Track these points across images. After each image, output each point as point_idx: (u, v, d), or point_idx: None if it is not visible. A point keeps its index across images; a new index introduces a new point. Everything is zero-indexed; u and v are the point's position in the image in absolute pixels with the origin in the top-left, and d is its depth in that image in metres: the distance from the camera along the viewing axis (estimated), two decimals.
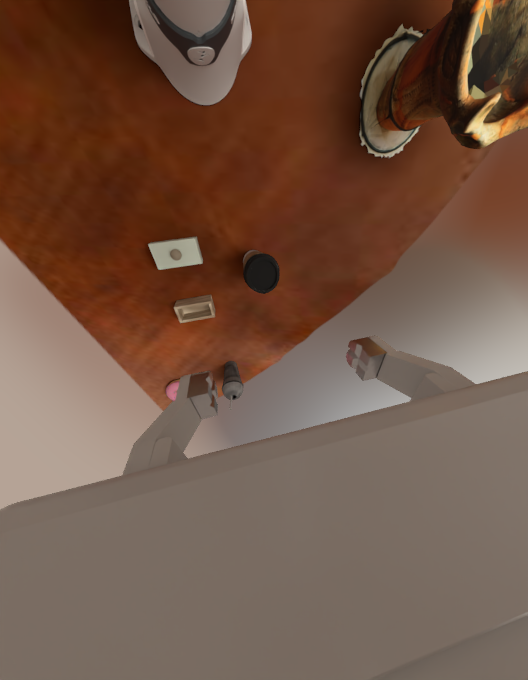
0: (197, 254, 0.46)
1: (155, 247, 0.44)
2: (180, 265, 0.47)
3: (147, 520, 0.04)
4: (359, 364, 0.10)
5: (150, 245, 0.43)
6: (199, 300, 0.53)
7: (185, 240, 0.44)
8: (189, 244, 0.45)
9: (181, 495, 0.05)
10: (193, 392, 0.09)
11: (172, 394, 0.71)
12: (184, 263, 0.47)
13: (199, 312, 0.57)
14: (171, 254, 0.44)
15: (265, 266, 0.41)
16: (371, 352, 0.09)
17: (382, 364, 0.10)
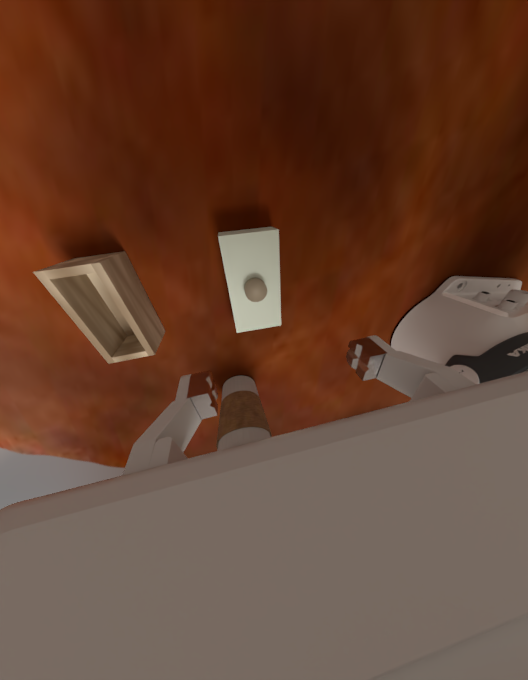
0: (254, 326, 0.23)
1: (270, 246, 0.19)
2: (231, 292, 0.20)
3: (147, 520, 0.04)
4: (359, 364, 0.10)
5: (275, 235, 0.18)
6: (147, 321, 0.21)
7: (278, 309, 0.23)
8: (272, 315, 0.23)
9: (181, 495, 0.05)
10: (193, 392, 0.08)
11: None
12: (236, 301, 0.21)
13: (105, 312, 0.21)
14: (258, 283, 0.19)
15: None
16: (371, 352, 0.09)
17: (382, 364, 0.10)
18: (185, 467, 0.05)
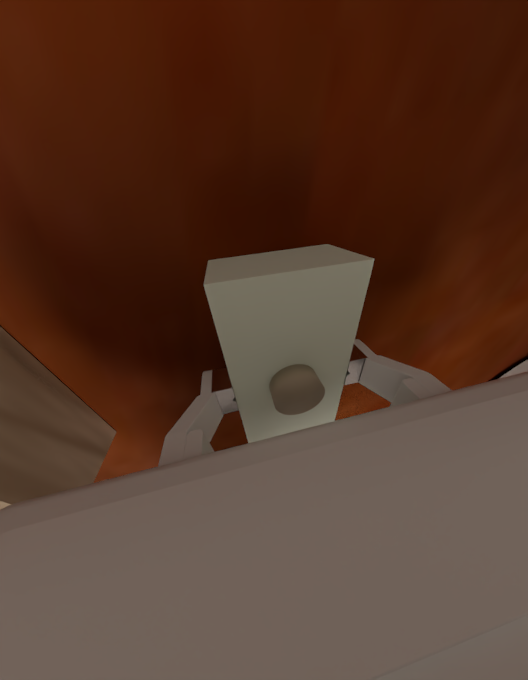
0: None
1: (343, 300, 0.07)
2: (240, 394, 0.09)
3: (147, 520, 0.04)
4: None
5: (363, 273, 0.07)
6: (54, 456, 0.09)
7: (334, 406, 0.11)
8: (319, 416, 0.12)
9: (181, 495, 0.05)
10: (217, 387, 0.09)
11: None
12: (251, 407, 0.10)
13: None
14: (306, 384, 0.08)
15: None
16: (351, 356, 0.09)
17: (362, 368, 0.10)
18: (185, 467, 0.05)
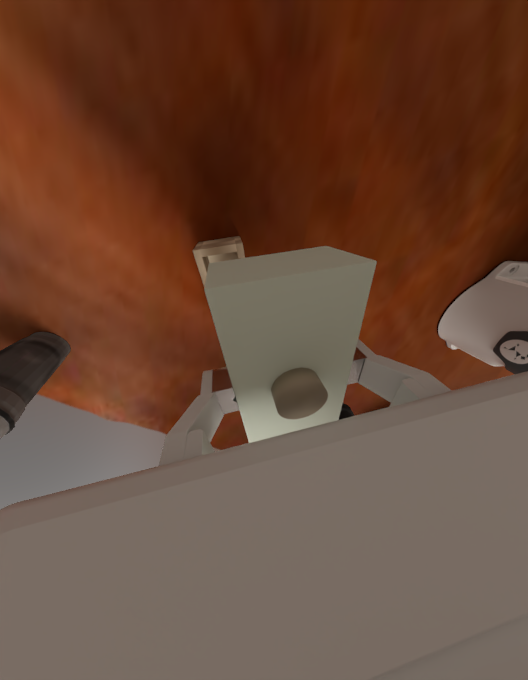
0: None
1: (345, 303, 0.07)
2: (242, 399, 0.09)
3: (147, 520, 0.04)
4: None
5: (365, 276, 0.07)
6: None
7: (337, 410, 0.11)
8: (322, 419, 0.11)
9: (181, 495, 0.05)
10: (217, 386, 0.09)
11: None
12: (253, 411, 0.10)
13: None
14: (309, 388, 0.08)
15: None
16: None
17: (362, 369, 0.10)
18: (185, 467, 0.05)
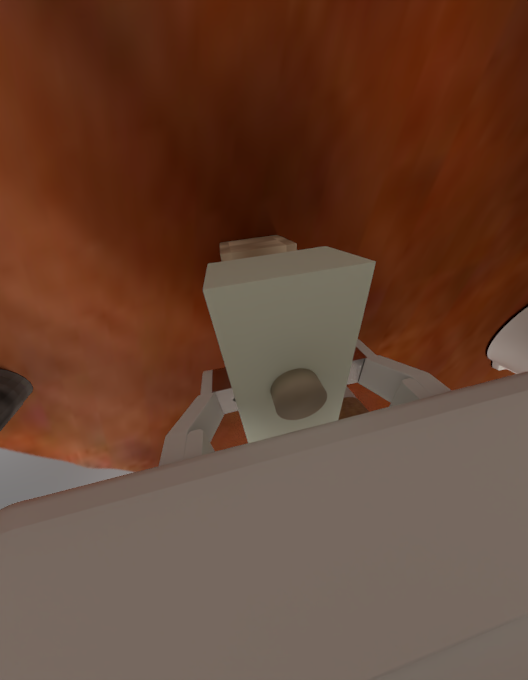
0: None
1: (345, 303, 0.07)
2: (241, 399, 0.09)
3: (147, 520, 0.04)
4: None
5: (364, 276, 0.07)
6: None
7: (336, 410, 0.11)
8: (322, 420, 0.11)
9: (181, 495, 0.05)
10: (217, 387, 0.09)
11: None
12: (252, 412, 0.10)
13: None
14: (308, 389, 0.08)
15: None
16: None
17: (362, 368, 0.10)
18: (185, 467, 0.05)
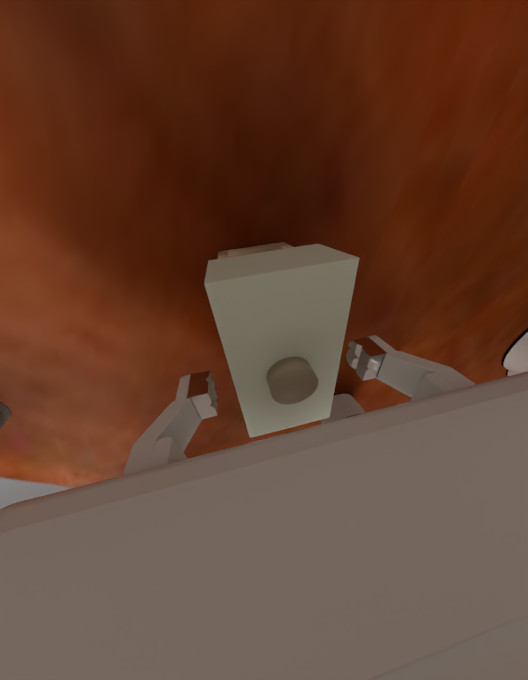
0: (282, 425, 0.13)
1: (332, 296, 0.08)
2: (240, 386, 0.10)
3: (147, 520, 0.04)
4: (359, 364, 0.10)
5: (349, 271, 0.07)
6: None
7: (329, 398, 0.12)
8: (315, 407, 0.12)
9: (181, 495, 0.05)
10: (193, 392, 0.08)
11: None
12: (250, 398, 0.10)
13: None
14: (300, 375, 0.09)
15: None
16: (371, 352, 0.09)
17: (382, 364, 0.10)
18: (185, 467, 0.05)
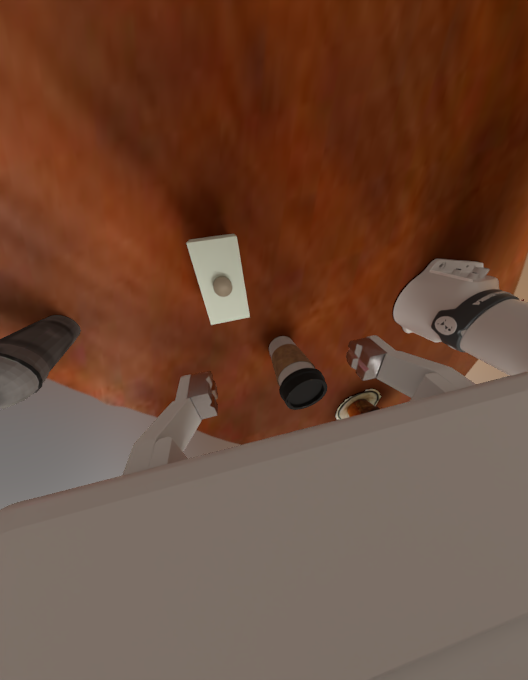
0: (225, 318, 0.27)
1: (231, 250, 0.23)
2: (202, 289, 0.24)
3: (147, 520, 0.04)
4: (359, 364, 0.10)
5: (234, 240, 0.22)
6: None
7: (245, 303, 0.27)
8: (240, 308, 0.27)
9: (181, 495, 0.05)
10: (193, 392, 0.09)
11: None
12: (208, 297, 0.25)
13: None
14: (223, 280, 0.23)
15: (313, 391, 0.33)
16: (371, 352, 0.09)
17: (381, 364, 0.10)
18: (185, 467, 0.05)
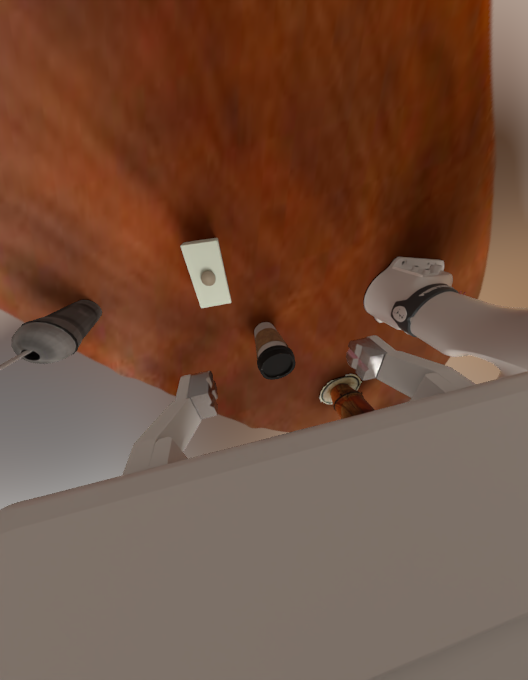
0: (212, 303, 0.35)
1: (214, 250, 0.30)
2: (193, 280, 0.32)
3: (147, 520, 0.04)
4: (359, 364, 0.10)
5: (216, 243, 0.30)
6: None
7: (227, 291, 0.35)
8: (223, 295, 0.35)
9: (181, 495, 0.05)
10: (193, 392, 0.09)
11: None
12: (197, 286, 0.33)
13: None
14: (208, 273, 0.31)
15: (284, 365, 0.41)
16: (371, 352, 0.09)
17: (381, 364, 0.10)
18: (185, 467, 0.05)
